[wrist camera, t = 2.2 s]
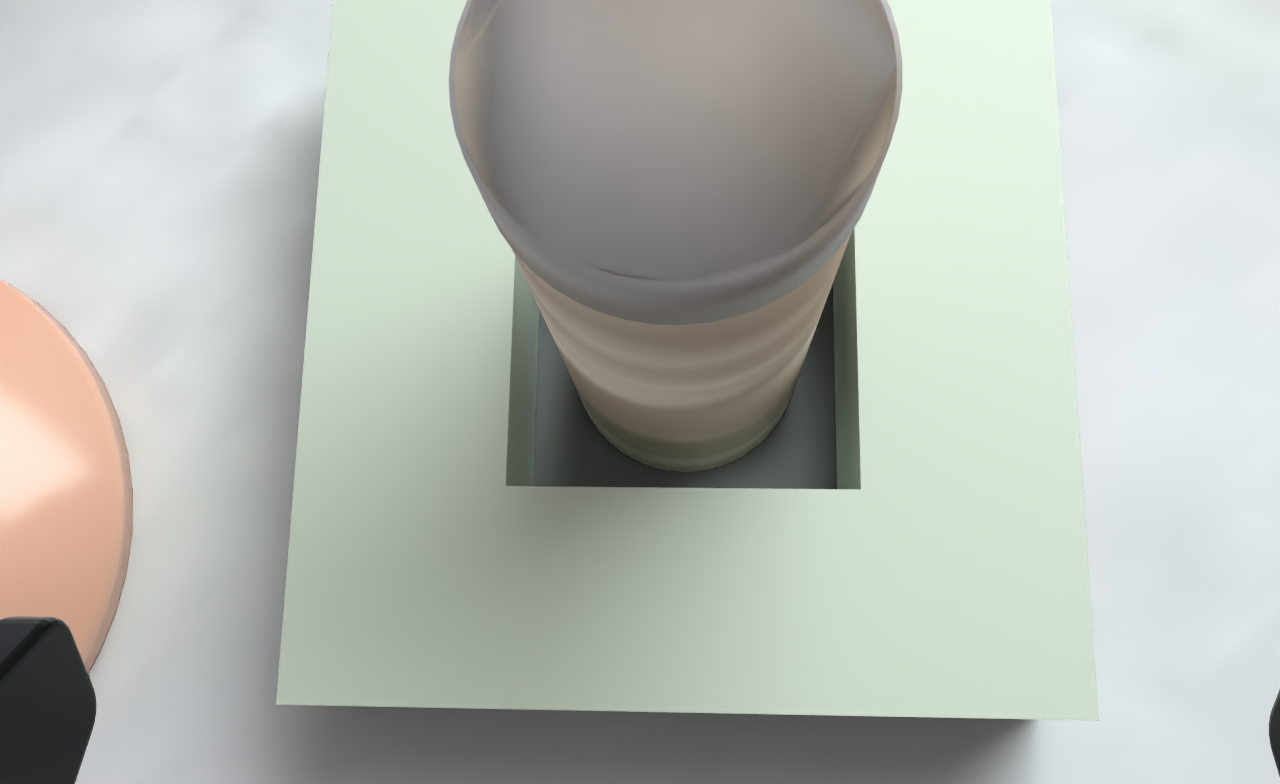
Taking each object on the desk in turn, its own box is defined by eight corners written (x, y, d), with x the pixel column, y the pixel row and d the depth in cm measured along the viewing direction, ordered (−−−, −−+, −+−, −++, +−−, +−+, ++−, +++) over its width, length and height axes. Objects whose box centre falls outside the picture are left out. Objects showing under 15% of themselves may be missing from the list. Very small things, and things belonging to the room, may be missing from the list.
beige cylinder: (689, 522, 21) (681, 382, 10) (527, 367, 21) (356, 82, 11) (845, 358, 21) (998, 58, 10) (681, 212, 22) (665, -208, 11)
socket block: (1039, 710, 20) (1099, 720, 17) (336, 697, 20) (275, 704, 17) (1002, 58, 22) (1048, -31, 19) (381, 64, 23) (334, -23, 20)
